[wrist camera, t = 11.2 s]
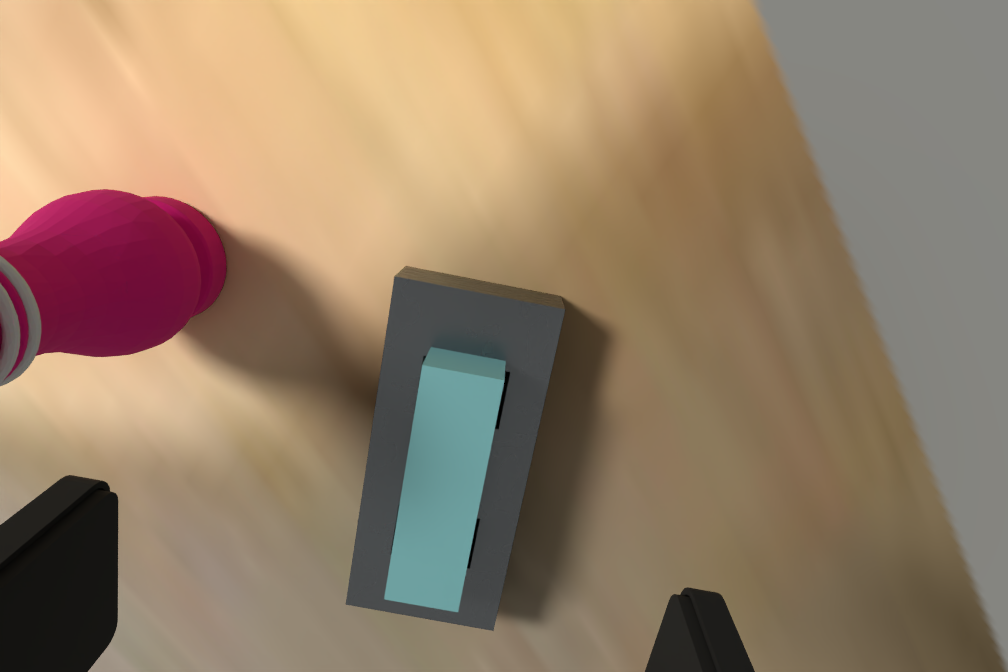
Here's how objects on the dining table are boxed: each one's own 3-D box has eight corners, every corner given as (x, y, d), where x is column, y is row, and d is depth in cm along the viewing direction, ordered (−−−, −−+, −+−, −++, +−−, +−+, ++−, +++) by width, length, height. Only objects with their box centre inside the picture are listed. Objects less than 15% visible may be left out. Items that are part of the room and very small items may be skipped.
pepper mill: (267, 266, 32) (-104, 419, 13) (173, 355, 34) (-288, 613, 14) (159, 154, 31) (-431, 141, 12) (66, 251, 32) (-600, 383, 13)
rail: (405, 265, 32) (394, 276, 29) (561, 296, 32) (565, 309, 30) (359, 569, 37) (345, 604, 34) (495, 594, 37) (493, 630, 34)
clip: (438, 331, 33) (422, 365, 27) (506, 344, 33) (504, 380, 28) (404, 533, 36) (383, 599, 31) (467, 545, 36) (458, 612, 31)
